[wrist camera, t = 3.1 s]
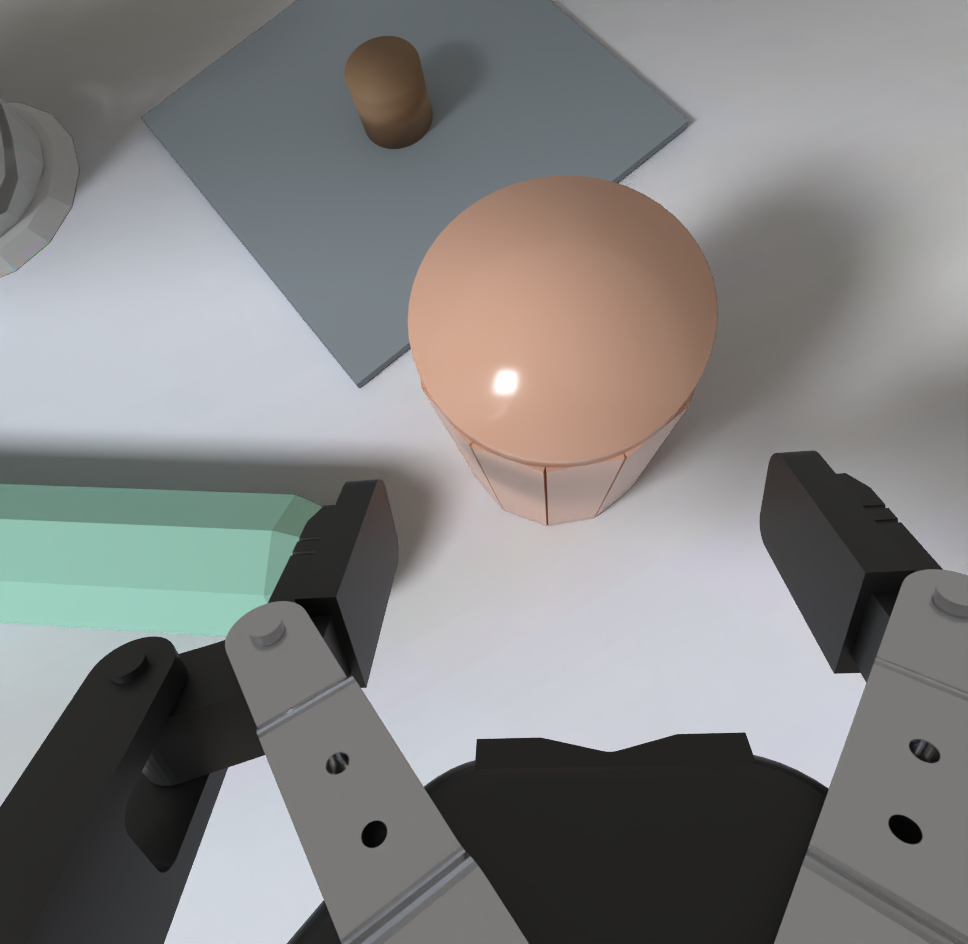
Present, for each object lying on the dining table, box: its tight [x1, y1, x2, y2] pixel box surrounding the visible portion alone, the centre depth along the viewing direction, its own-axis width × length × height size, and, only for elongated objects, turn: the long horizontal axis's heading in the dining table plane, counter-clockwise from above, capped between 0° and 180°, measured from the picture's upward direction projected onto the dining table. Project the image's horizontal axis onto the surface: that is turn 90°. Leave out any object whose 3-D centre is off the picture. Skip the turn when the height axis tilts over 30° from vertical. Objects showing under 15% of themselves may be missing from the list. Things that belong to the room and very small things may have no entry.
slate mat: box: [141, 0, 689, 388], centre depth 26 cm, size 17×17×1 cm
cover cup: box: [408, 175, 718, 526], centre depth 17 cm, size 6×6×10 cm
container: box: [0, 484, 322, 637], centre depth 21 cm, size 6×6×25 cm
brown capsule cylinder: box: [344, 36, 433, 149], centre depth 24 cm, size 3×3×2 cm
